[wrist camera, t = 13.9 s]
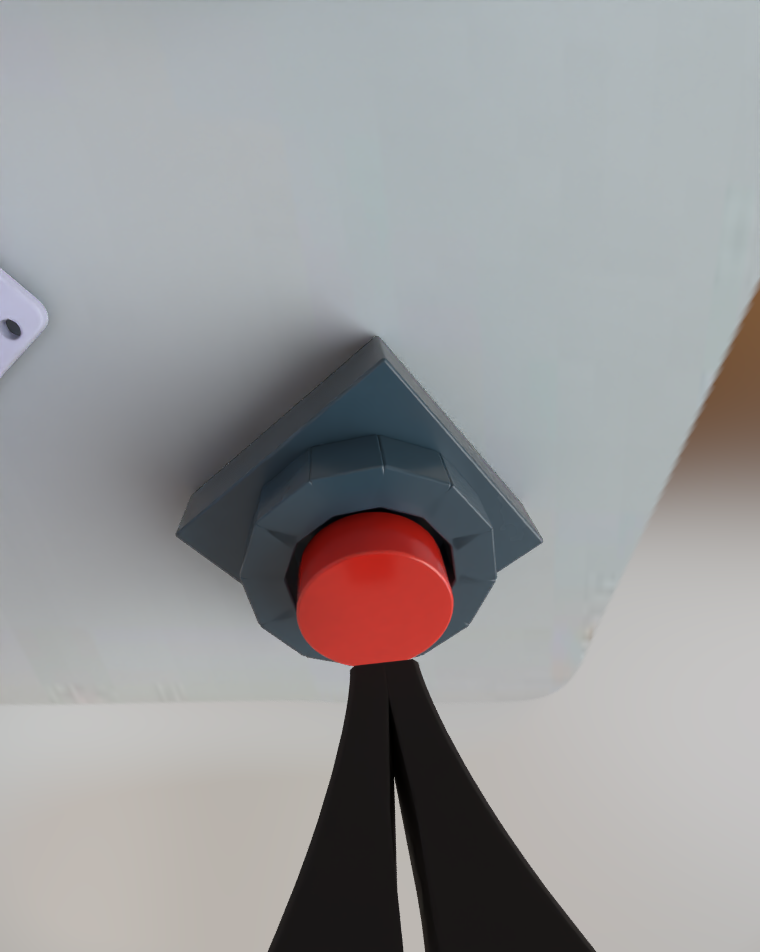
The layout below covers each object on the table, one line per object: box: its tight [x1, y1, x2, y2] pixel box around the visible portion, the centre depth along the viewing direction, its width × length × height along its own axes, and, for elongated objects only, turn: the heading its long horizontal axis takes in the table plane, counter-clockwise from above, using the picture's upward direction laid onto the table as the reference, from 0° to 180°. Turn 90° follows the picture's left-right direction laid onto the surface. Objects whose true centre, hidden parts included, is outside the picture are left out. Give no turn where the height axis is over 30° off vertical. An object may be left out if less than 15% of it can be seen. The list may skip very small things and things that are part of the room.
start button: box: [296, 512, 454, 666], centre depth 14 cm, size 4×4×2 cm
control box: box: [176, 336, 543, 663], centre depth 16 cm, size 8×8×4 cm
